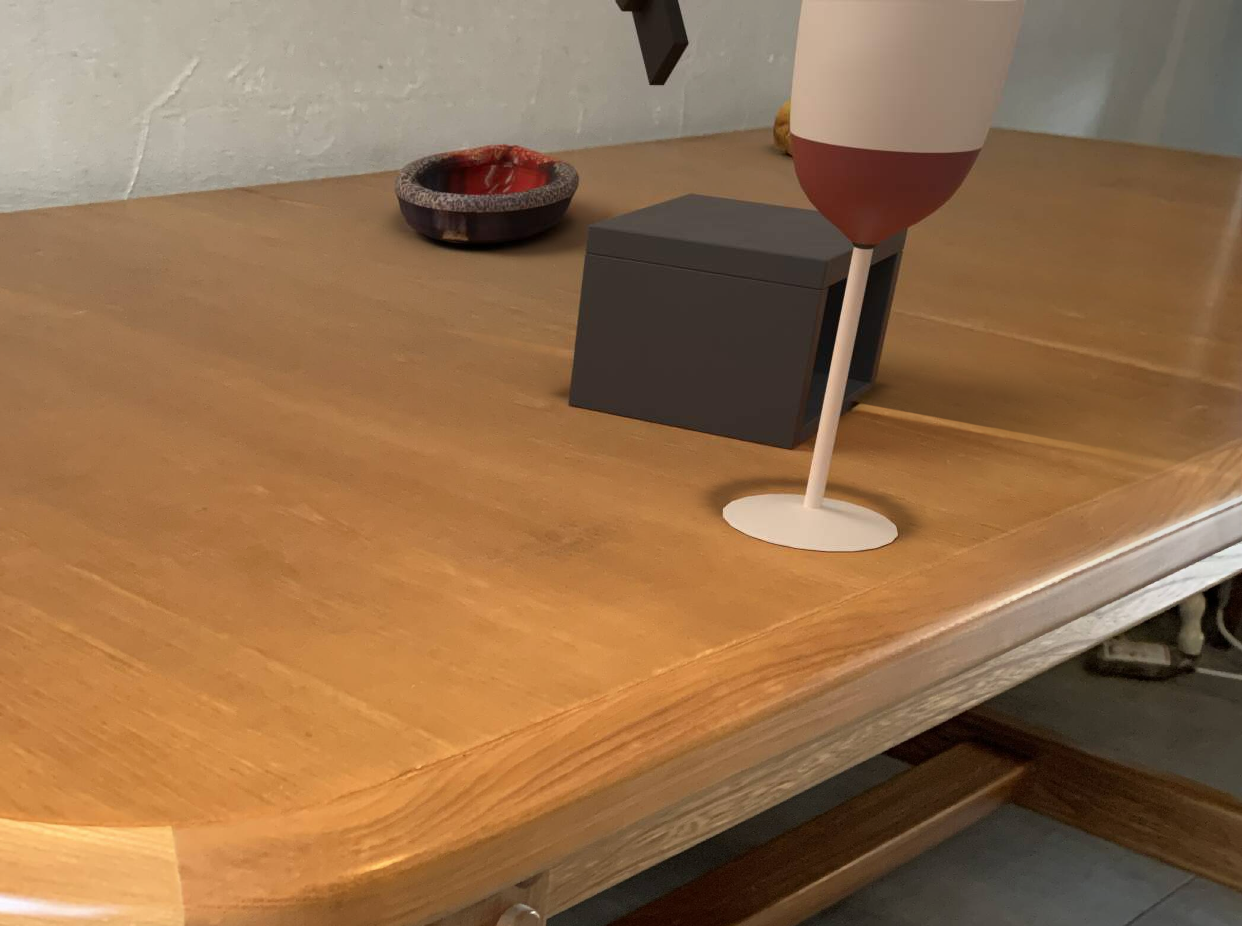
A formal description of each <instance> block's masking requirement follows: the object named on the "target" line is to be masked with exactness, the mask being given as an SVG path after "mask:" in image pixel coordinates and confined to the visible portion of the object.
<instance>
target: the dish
mask: <svg viewBox="0 0 1242 926" xmlns="http://www.w3.org/2000/svg"><path fill="white" fill-rule="evenodd" d="M393 184H394V185H393V187H394V188H393V189H394V193H395V195H396V198H397V202H398V205H399V210H400V212H401V214H402V217H403V218H404V220H405V222H406V223H407V225H408V226H409V227H410V228H411V229H413V230H414V231H416V232H417V233H420V234H422V235H424V236H426V237H428V238H431V239H433V240H438V241H441V242H447V243H452V244H453V243H454V244H465V245H466V244H467V245H483V244H485V245H487V244H497V243H498V244H499V243H505V242H512V241H517V240H523V239H526V238H530V237H532V236H535V235H538V234H540V233H542V232H544V231H546V230H548V229H550V228H551V227H553V226H555V225H556V224H558V223H559V221H561V219H562V218H563V216H564V215H565V213H566V212H567V210H568V209H569V207H570V205H571V202H572V200H573V197H574V195H575V193H576V192H577V190H578V188H579V185H580V175H579V173H578V171H577V169H576V168H575V166H574V165H572V164H570V163H569V162H567V161H564V160H562V159H559V158H557V157H553V156H550V155H547V154H545V153H541V152H539V151H536V150H533V149H530V148H527V147H524V146H520V145H517V144H513V145H508V144H504V143H503V144H490V145H484V146H483V145H482V146H478V147H473V148H467V149H459V150H455V151H454V150H453V151H447V152H441V153H435V154H431V155H427V156H423V157H421V158H417V159H416V160H412V161H411V162H409V163H408V164H405V165H404V166H403V167H402V168H401V169H400V171H398V173H397V175H396V176H395V178H394V182H393Z"/></svg>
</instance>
